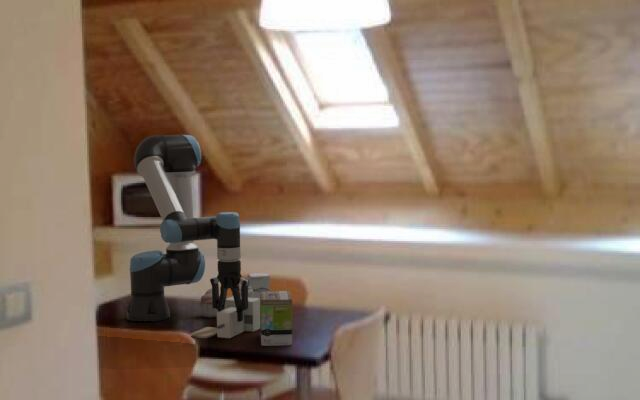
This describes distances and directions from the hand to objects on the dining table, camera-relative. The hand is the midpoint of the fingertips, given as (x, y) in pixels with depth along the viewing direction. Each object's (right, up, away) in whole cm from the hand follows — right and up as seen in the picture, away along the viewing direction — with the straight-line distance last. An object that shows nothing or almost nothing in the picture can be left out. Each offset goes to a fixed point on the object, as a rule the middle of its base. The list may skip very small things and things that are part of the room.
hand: (230, 330), depth 299 cm
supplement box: (+7, +2, +41) cm, 41 cm away
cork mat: (-8, -1, +1) cm, 8 cm away
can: (+2, 0, +21) cm, 21 cm away
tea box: (+15, -2, -9) cm, 18 cm away
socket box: (+3, -1, +8) cm, 8 cm away
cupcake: (-10, +1, +28) cm, 30 cm away
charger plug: (0, -1, 0) cm, 1 cm away
